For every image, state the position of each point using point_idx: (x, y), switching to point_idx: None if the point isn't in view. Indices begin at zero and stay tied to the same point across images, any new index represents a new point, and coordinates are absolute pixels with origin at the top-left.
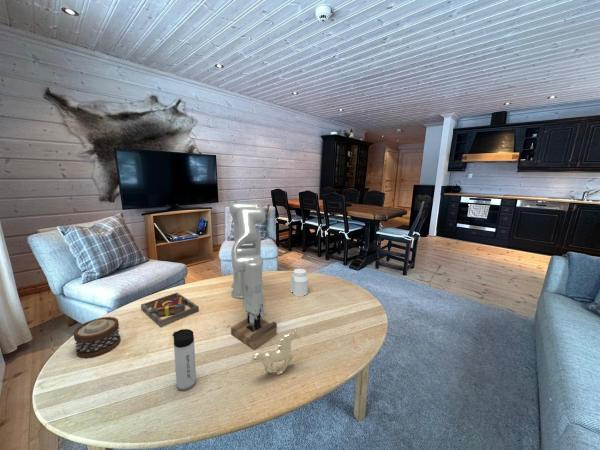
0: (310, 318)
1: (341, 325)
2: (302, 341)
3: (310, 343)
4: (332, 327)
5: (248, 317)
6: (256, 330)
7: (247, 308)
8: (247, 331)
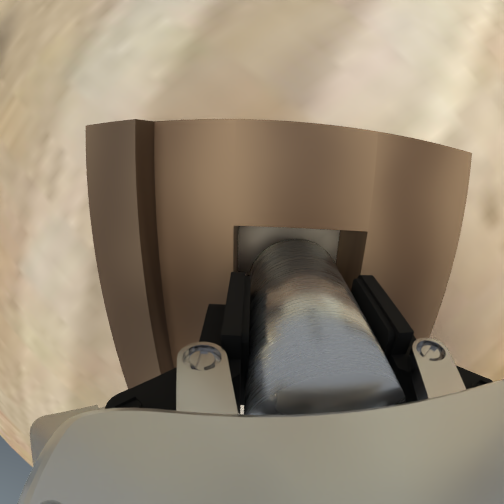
0: None
1: None
2: (45, 361)
3: (25, 363)
4: None
5: (387, 320)
6: (229, 265)
7: (471, 450)
8: (294, 193)
